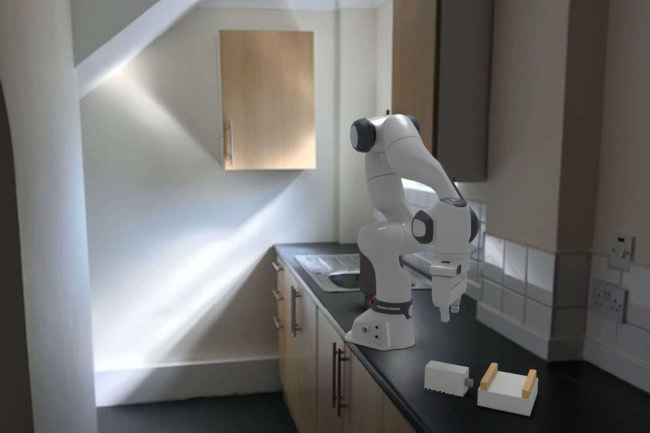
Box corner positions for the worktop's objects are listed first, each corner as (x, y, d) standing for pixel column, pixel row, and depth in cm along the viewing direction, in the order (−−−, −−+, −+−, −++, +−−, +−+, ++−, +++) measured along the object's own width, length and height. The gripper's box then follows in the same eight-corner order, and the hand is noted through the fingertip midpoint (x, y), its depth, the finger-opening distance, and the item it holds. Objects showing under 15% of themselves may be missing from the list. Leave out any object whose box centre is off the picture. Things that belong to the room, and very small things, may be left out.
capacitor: (381, 315, 210) (383, 235, 207) (351, 309, 218) (352, 232, 215) (400, 307, 221) (402, 231, 217) (370, 302, 229) (372, 228, 225)
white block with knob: (424, 388, 147) (425, 366, 146) (430, 382, 151) (431, 360, 150) (469, 398, 141) (470, 375, 141) (474, 391, 146) (475, 368, 145)
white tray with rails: (477, 405, 137) (478, 381, 137) (489, 384, 150) (490, 362, 149) (529, 416, 132) (531, 391, 131) (537, 393, 144) (538, 370, 144)
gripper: (450, 255, 153) (448, 305, 155) (427, 268, 135) (426, 325, 137) (473, 257, 150) (472, 308, 152) (453, 271, 132) (452, 328, 134)
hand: (450, 316), depth 144 cm, fingers open, 8 cm apart
